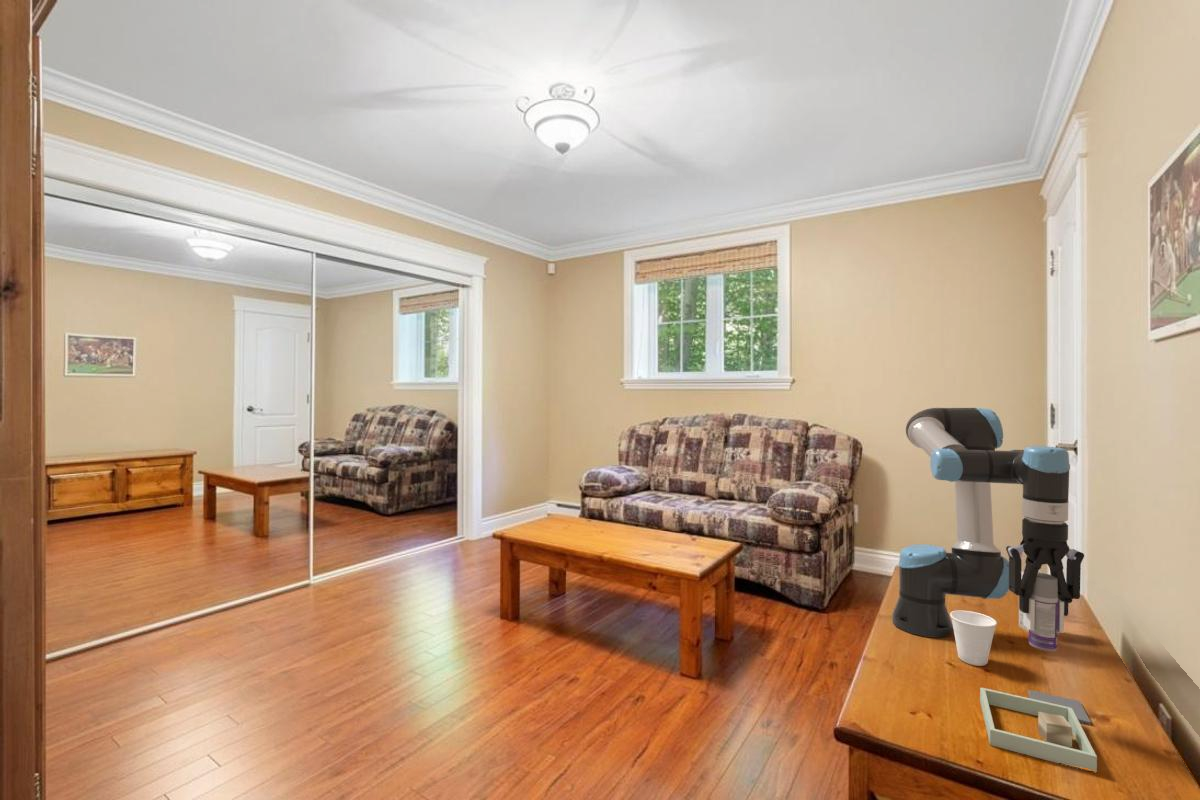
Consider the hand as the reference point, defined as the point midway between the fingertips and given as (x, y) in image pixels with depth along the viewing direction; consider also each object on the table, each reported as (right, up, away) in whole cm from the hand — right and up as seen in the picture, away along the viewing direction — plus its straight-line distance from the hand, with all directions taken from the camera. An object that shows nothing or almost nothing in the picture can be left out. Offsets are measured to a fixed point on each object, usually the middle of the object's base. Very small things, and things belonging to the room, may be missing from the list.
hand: (1043, 628), depth 115 cm
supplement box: (+32, -18, +40) cm, 54 cm away
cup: (+1, -18, +23) cm, 29 cm away
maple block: (-5, -18, -8) cm, 21 cm away
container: (0, -4, 0) cm, 4 cm away
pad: (+5, -18, +2) cm, 19 cm away
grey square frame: (-8, -18, -7) cm, 21 cm away
